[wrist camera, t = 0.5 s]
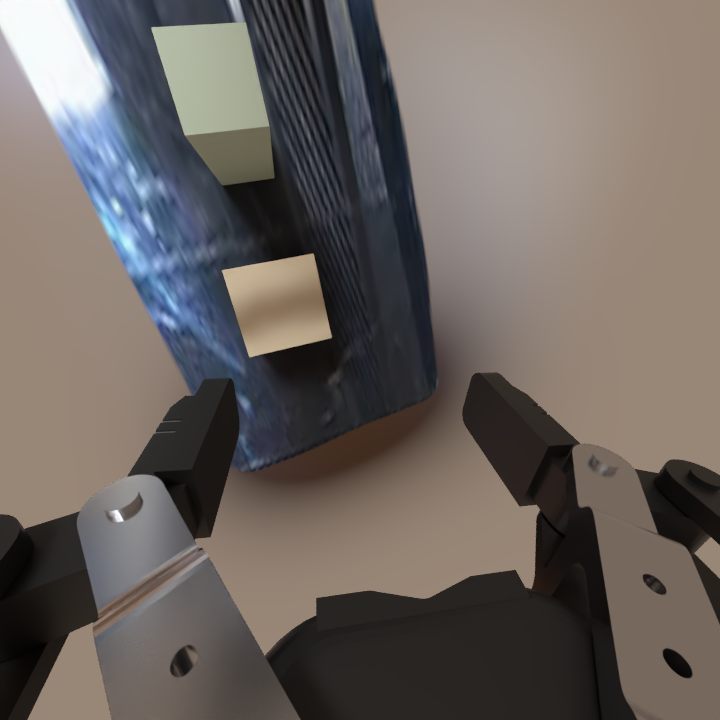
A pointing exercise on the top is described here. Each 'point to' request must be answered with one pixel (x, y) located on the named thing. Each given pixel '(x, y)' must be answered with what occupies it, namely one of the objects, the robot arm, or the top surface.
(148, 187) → the top surface
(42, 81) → the top surface
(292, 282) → the birch base block
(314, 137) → the top surface
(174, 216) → the top surface
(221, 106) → the sage block
